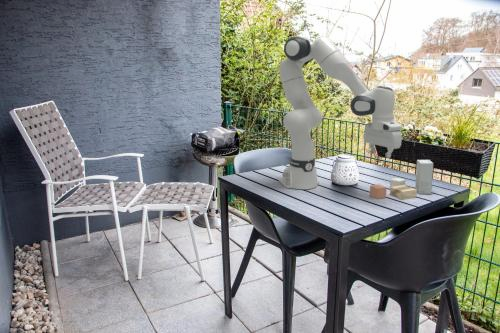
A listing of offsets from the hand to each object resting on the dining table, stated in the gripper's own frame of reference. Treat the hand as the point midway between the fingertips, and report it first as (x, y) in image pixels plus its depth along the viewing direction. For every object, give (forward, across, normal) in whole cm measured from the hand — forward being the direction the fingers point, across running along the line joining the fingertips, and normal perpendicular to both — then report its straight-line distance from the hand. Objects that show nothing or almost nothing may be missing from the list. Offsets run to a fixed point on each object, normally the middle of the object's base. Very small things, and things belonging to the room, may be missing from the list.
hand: (380, 155), depth 168 cm
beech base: (+20, +4, +11) cm, 23 cm away
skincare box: (+20, +2, +24) cm, 31 cm away
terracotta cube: (+20, 0, 0) cm, 20 cm away
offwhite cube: (+20, -5, +16) cm, 26 cm away
